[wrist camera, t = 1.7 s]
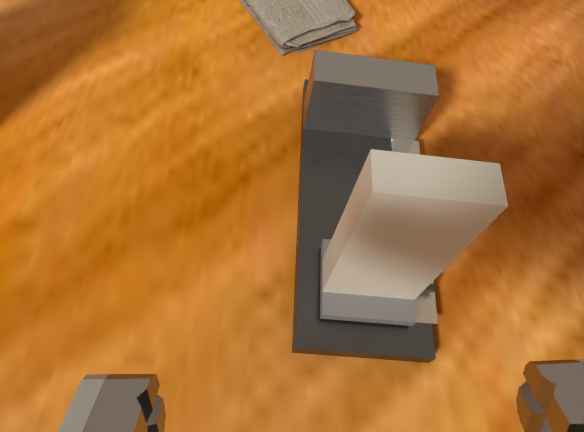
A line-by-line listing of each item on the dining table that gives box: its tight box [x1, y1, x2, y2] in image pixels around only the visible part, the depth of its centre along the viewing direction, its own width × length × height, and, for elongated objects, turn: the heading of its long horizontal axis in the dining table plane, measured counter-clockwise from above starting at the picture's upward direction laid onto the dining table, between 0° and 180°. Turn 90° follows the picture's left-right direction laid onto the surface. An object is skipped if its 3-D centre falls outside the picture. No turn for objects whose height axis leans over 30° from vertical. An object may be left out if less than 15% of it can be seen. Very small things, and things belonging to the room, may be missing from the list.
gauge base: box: [292, 50, 439, 363], centre depth 46 cm, size 30×12×8 cm, turn 177°
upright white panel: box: [320, 149, 508, 326], centre depth 37 cm, size 8×10×17 cm
